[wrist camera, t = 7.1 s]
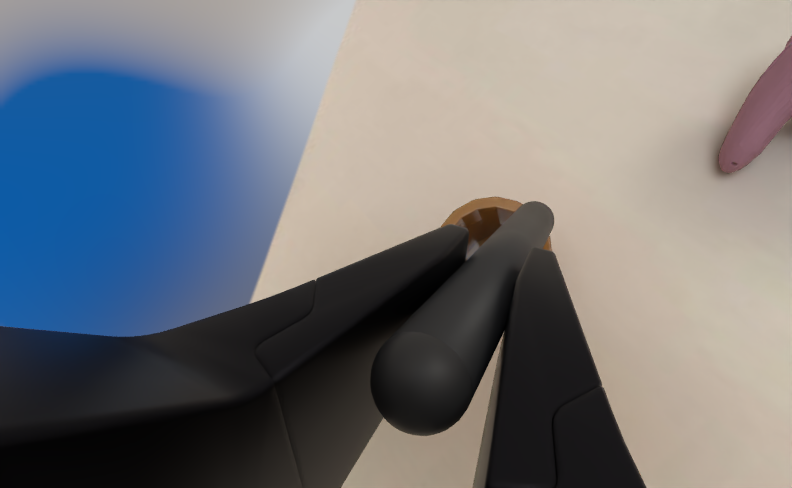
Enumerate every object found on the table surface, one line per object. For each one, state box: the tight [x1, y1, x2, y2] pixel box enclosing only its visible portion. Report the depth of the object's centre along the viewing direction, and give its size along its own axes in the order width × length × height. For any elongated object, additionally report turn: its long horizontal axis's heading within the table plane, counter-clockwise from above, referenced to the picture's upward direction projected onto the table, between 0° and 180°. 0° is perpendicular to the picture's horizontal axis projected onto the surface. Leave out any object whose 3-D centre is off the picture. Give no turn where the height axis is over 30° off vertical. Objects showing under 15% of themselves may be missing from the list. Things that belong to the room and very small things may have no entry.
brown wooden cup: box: [441, 197, 552, 260], centre depth 19 cm, size 4×4×6 cm
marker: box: [370, 201, 554, 436], centre depth 10 cm, size 6×1×10 cm, turn 160°
